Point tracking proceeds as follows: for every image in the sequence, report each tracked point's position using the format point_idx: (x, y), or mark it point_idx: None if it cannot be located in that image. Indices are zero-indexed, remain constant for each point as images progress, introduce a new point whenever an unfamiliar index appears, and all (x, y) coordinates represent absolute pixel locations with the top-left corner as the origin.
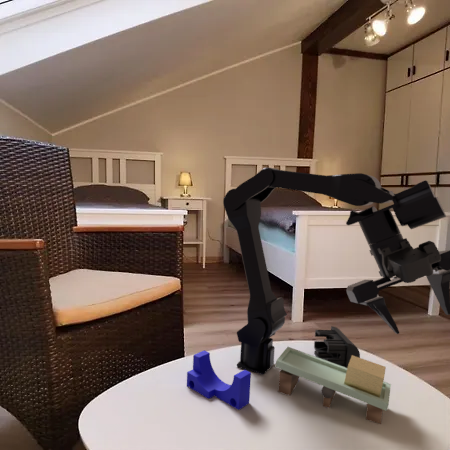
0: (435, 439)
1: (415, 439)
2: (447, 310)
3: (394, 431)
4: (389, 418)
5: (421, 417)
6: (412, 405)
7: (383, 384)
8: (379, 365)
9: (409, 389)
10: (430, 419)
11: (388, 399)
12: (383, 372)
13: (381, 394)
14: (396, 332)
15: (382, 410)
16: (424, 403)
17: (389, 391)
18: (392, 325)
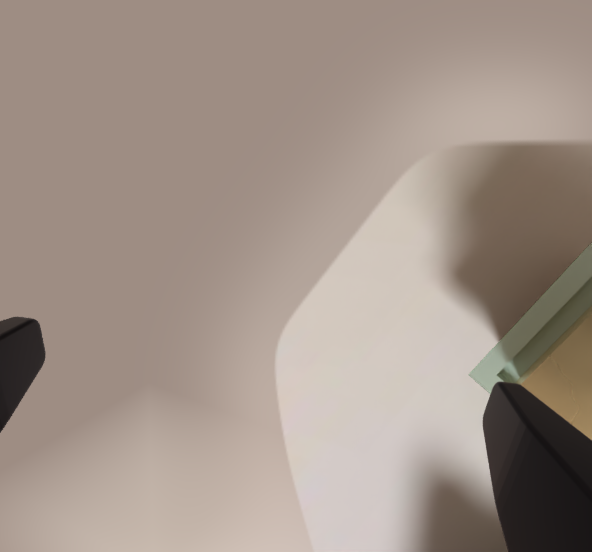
0: (438, 170)
1: (510, 171)
2: (7, 330)
3: (563, 215)
4: (530, 284)
5: (405, 275)
6: (391, 335)
7: (504, 381)
8: None
9: (341, 412)
10: (383, 262)
11: (569, 270)
12: (560, 355)
13: (560, 325)
14: (528, 391)
15: None
16: (345, 337)
17: (518, 324)
18: (583, 437)
